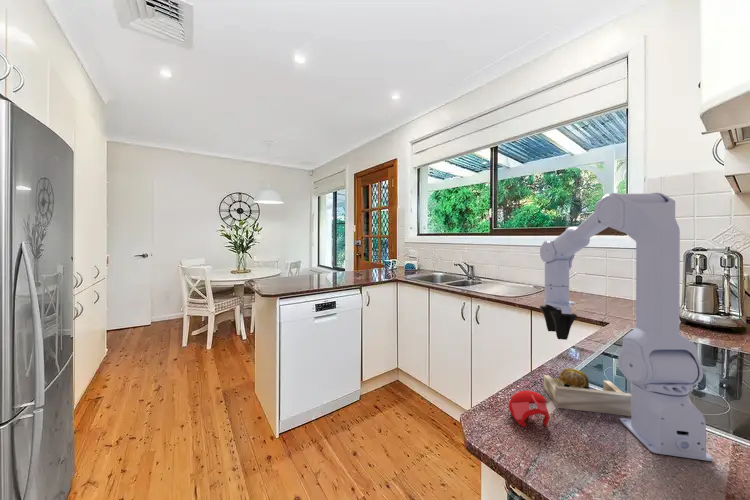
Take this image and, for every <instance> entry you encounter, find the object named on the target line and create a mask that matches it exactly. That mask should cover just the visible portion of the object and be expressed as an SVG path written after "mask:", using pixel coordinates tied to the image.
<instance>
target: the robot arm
mask: <svg viewBox="0 0 750 500" xmlns="http://www.w3.org/2000/svg"><path fill="white" fill-rule="evenodd" d="M607 228H611V229H614V230H616V231H618V232H621V233H623V234H626V235H627V236H628V237H630V238H631V239H632V240H633V241H635V243H636V244H635V245H636V246H635V249H636V250H635V252H636V253H635V255H636V256H635V261H636V263H635V266H636V267H635V271H636V272H635V283H636V284H635V285H636V286H635V304H636V305H635V327H634V328H633V329H632V330H631V331H629V332H628V333H627V334H625V335H624V336H623V338H622V346H621V349H620V351H619V352H618V357H617V359H618V360H617V361H618V366H619V369H620V371H621V373H622V374H623V375H624V377H625V378H626V380H627V381H628V382H630V393H631V416H630V418H625V417H620V418H619V421H620V422H621V423H622V424H623V425H624V426H625V427H626V428H627V429H628V430H629V431H630V432H631V433H632V434H633V435H634V436H635V438H637V439H638V441H640V442H641V443H642V444H643V445H644V446H645V447H646V448H647V449H648V451H650V452H651V453H653V454H657V455H658V454H659V455H664V456H665V455H666V456H671V457H672V456H673V457H680V458H685V459H686V458H687V459H694V460H701V461H707V462H713V461H714V458H713V456H712V455H710V454H708V453H707V429H706V428H707V424H706V419H705V416H704V414H703V413H702V411H701V410H700V409H698V408H697V407H696V406H695V405H694V403H693V402H692V400H691V399H690V394H689V392H693V391H694V388H693V386H695V385H698V384H699V383H701V381H702V379H704V378H703V376H704V368H703V365H702V363H701V361H700V359H699V356H698V346H697V345H696V344H695V343H694V342H693V341H691V340H690V339H688V338H686V337H685V336H683V334H681V333H680V302H681V301H680V300H681V299H680V295H681V294H680V292H681V291H680V280H681V279H680V278H681V277H680V272H681V270H680V269H681V268H680V267H681V264H680V263H681V261H680V258H681V256H680V253H681V252H680V251H681V249H680V248H681V246H680V245H681V242H680V241H681V240H680V239H681V232H680V227H679V223H678V222H677V219H676V201H675V199H672V198H671V197H669V195H666V194H664V193H661V192H651V193H617V192H609V193H606V194H604V195H603V197H602V198H601V199H599V200H598V201H596V202H595V205H594V211H593V212H592V213H591V214H590V215H588V217H587V218H585V219H584V220H583V221H582V223H580V224H579V225H578V226H568V227H567V228H565V231H563V232H562V233H561V234H559V235H558V236H557V237H556V238H555V239H554V240H545V241H544V242H543V243H542V244H541V246H540V249H539V250H540V251H539V254H540V255H539V256H540V258H541V260H542V262H543V263H544V300H543V304H544V305H539V308H540V311H542V313H543V317H544V320H545V324H546V329H547V331H548V332H555V335H556V338H557V339H558V340H563V341H564V340H565V341H567V340H568V339H569V335H570V330H571V328H572V325H573V323H574V322H575V320H576V319H577V316H578V315H577V314H576V313H573V312H572V309H573V307H572V306H575V302H574V301H572V300H571V301H570V269H572V266H573V265H572V264H573V261H574V259H575V255H576V254H577V253H578V252H579V251H581V250H583V249H585V247H587V246H589V244H590V241H591V240H590V239H591V238H592V237H593V236H595V235H597V234H598V233H600V232H602V231H604V230H606V229H607Z"/></svg>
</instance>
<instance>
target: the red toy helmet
mask: <svg viewBox="0 0 750 500" xmlns="http://www.w3.org/2000/svg"><path fill="white" fill-rule="evenodd" d="M547 402H548V401H547V400H546V398H545V397H544V396H543V395H542V394H540V393H539V392H536V391H533V390H521V391H517V392H515V393H514V394H513V395H512V396H511V397H510V400H509V402H508V409H509V411H510V414H511V416H512V417H513V418H514V420H515V421H516V422H517V424H518V425H520V426H521V427H523V428H526V426H527V423H526V419H527V418H528V417H529V418H530V417H531V416H534V415H542V416H544V417H543V420H542V424H543V426H544V427H546V426H547V425H548V422H549V420H550V414H549V411H548V408H547V405H546V403H547ZM531 404H533V405H536V408H532V409H530V405H531Z"/></svg>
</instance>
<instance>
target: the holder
mask: <svg viewBox="0 0 750 500" xmlns="http://www.w3.org/2000/svg"><path fill="white" fill-rule="evenodd" d="M552 378H553V377H551V376H550V374H549V375H548V374H543V389H544V390H545V392H546V393H547V395H549V397H550V399H551V401H552V402H553V403H554V404H555V406H556V408H558V409H567V410H575V411H584V412H593V413H600V414H601V413H602V414H607V415H618V416H626V417H631V392H630V393H629V392H623V391H622V390H621V389H620V388H619V387H617V385H615V384H614V383H612V381H610V380H602V390H601V389H592V388H591V389H590V388H584V389H583V388H573V387H570V386H557V384H556V383H555V382H554V381H553V379H552Z"/></svg>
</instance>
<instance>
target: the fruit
mask: <svg viewBox="0 0 750 500" xmlns="http://www.w3.org/2000/svg"><path fill="white" fill-rule="evenodd" d="M551 378H552V379H553V381H554V382H555V383H556V384H557V385H558V386H563V387H565V385H566V386H568V387H573V388H583V389H585V388H586V389H589V387H590V382H589V378H588V376H587V374H585V373H584V372H583V371H581V370H578V369H575V368H564V369H562V370H561V372H560V373H559V378H556V377H555V378H554V377H551Z"/></svg>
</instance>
